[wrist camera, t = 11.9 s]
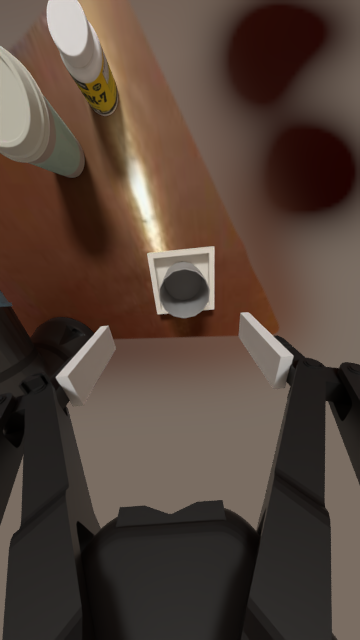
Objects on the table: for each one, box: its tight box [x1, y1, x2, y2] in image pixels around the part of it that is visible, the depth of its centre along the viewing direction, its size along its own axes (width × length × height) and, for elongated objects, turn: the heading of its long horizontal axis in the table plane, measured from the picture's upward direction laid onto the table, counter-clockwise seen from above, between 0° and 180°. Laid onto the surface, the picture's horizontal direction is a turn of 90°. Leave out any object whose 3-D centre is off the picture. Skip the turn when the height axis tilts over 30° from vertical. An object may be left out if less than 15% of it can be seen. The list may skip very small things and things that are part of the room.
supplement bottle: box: [47, 0, 118, 116], centre depth 20 cm, size 5×5×8 cm
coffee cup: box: [0, 46, 85, 178], centre depth 21 cm, size 8×8×12 cm
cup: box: [159, 261, 210, 318], centre depth 31 cm, size 8×8×10 cm
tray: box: [147, 246, 214, 314], centre depth 34 cm, size 13×13×2 cm
